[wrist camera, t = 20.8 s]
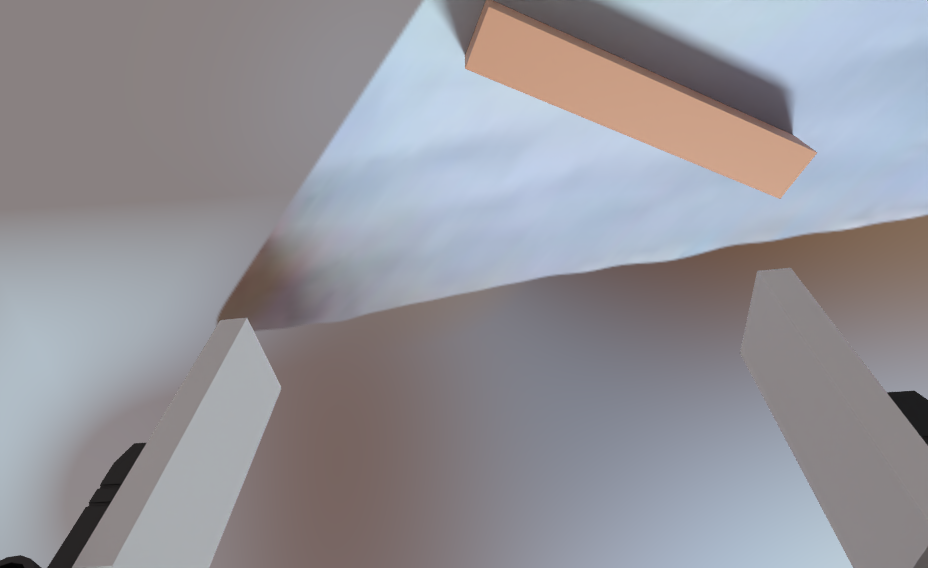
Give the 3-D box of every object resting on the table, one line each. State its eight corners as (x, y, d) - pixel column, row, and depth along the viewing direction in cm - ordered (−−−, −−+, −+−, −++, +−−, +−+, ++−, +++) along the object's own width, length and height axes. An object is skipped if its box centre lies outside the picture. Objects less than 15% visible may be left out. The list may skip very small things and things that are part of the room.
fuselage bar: (465, 54, 40) (465, 68, 37) (486, -3, 38) (488, 6, 34) (757, 176, 45) (779, 198, 42) (790, 133, 43) (817, 152, 40)
